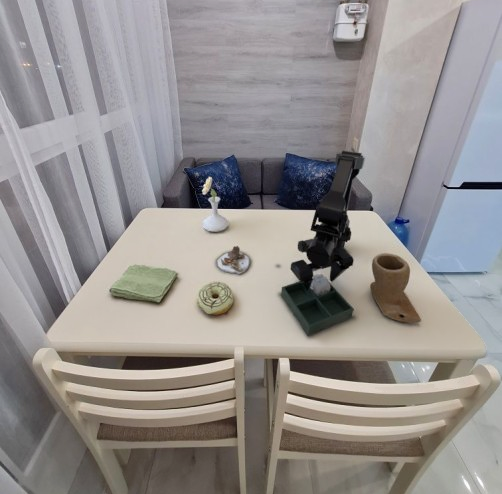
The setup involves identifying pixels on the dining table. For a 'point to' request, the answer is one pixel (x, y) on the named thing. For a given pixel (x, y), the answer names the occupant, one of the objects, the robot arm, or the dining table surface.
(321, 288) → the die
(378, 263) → the clay platform pipe
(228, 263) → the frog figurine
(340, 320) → the grid
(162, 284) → the washcloth
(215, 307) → the decorated donut
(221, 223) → the flower in vase
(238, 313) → the dining table surface
